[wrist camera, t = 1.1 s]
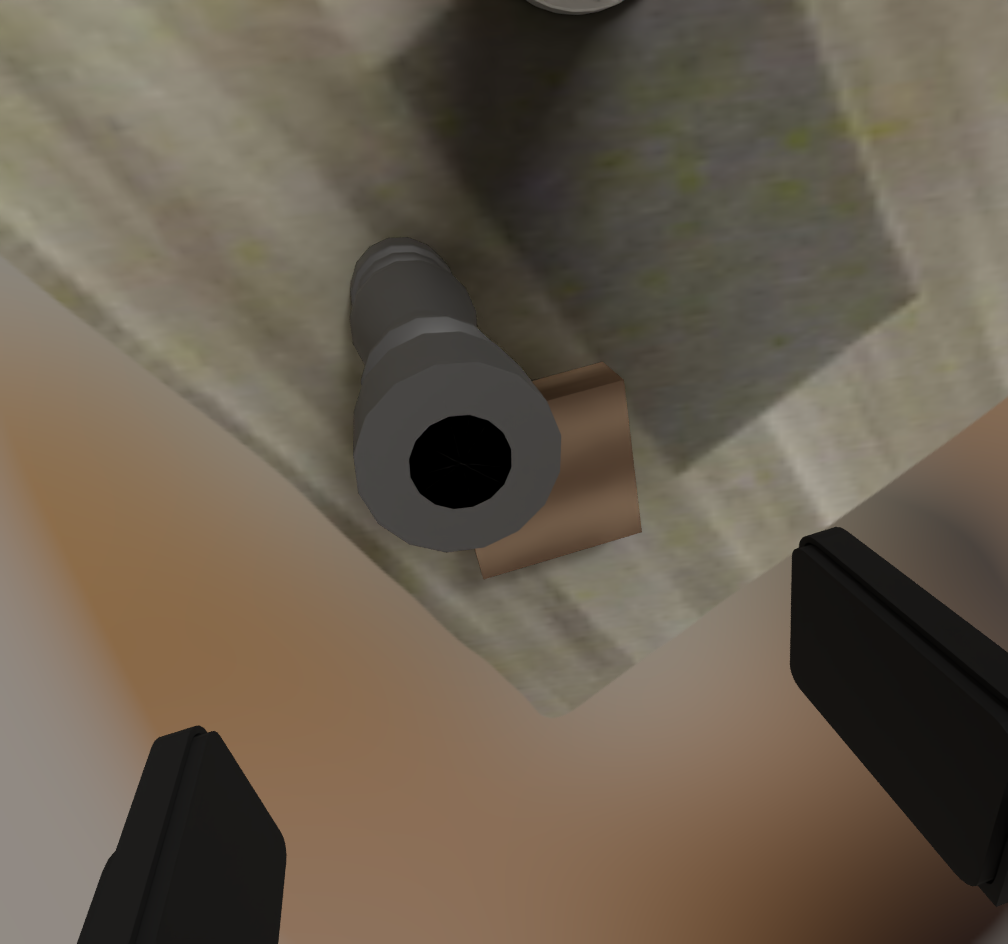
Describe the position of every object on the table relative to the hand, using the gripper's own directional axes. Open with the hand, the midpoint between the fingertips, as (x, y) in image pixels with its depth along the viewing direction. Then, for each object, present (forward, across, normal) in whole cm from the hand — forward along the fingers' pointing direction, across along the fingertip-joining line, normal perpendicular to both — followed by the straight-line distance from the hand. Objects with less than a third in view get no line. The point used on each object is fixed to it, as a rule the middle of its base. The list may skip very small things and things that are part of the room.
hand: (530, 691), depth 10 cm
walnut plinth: (+33, -6, +14) cm, 36 cm away
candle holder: (+33, 0, 0) cm, 33 cm away
